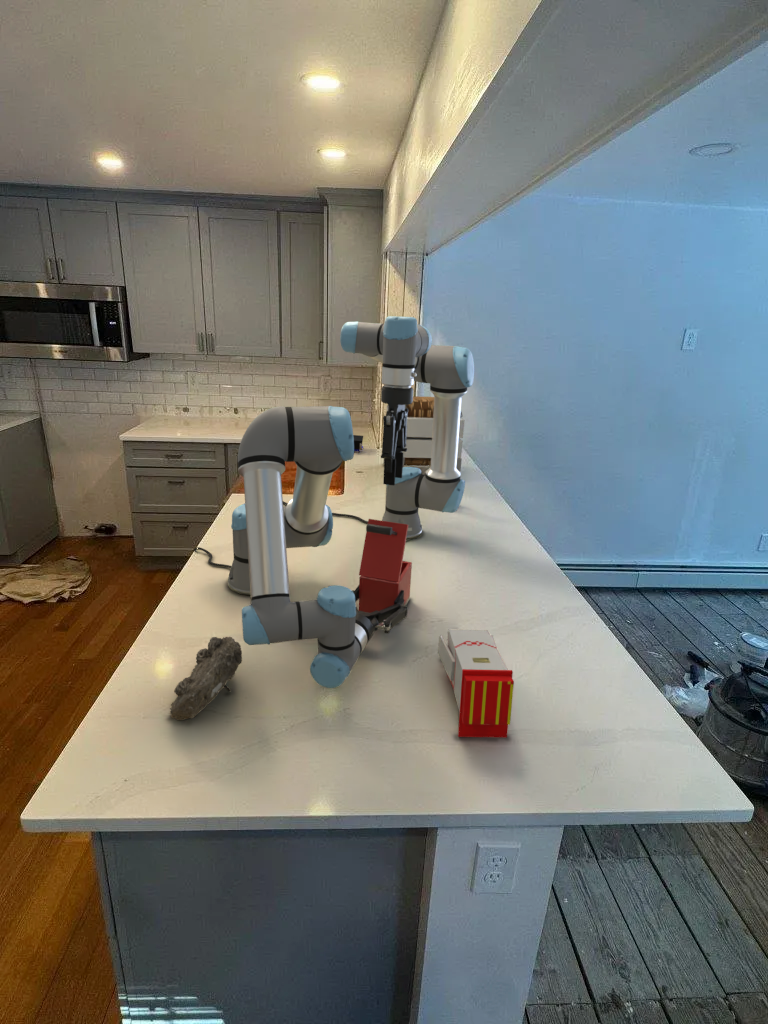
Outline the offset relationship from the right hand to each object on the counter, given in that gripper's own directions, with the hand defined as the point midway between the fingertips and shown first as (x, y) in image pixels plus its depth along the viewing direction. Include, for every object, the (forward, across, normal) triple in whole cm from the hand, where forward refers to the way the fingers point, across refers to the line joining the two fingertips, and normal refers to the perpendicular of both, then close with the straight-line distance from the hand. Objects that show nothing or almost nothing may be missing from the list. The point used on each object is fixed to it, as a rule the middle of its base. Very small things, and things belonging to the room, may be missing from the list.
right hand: (392, 480), depth 140 cm
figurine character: (+35, +158, +64) cm, 174 cm away
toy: (+35, -29, -27) cm, 53 cm away
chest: (+35, -2, 0) cm, 35 cm away
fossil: (+35, -47, +23) cm, 63 cm away
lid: (+17, -5, 0) cm, 18 cm away
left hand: (+28, -5, 0) cm, 29 cm away
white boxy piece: (+35, +130, +22) cm, 136 cm away
